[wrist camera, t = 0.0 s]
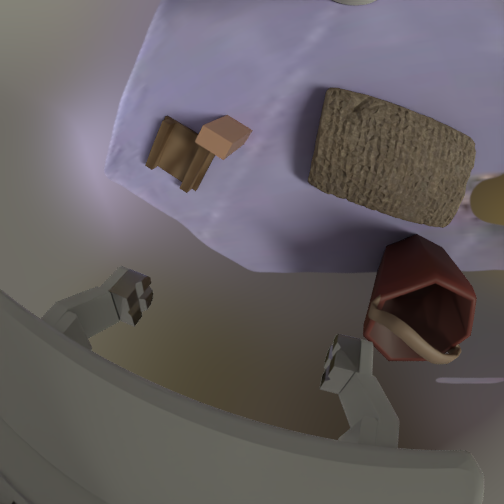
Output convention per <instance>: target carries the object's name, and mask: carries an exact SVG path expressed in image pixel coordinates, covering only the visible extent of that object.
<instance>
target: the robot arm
mask: <svg viewBox="0 0 504 504" xmlns="http://www.w3.org/2000/svg"><path fill="white" fill-rule="evenodd" d="M333 1H335V2H338V3H342V4H347V5H364V4H369V3H372V2H374V1H376V0H333ZM150 284H151V279H150V277H149V276H146V275H144V274H141V273H139V272H136V271H134V270H131V269H128V268H126V267H123V266H121V267H119V268H118V269H117V270H116V271H115V272H114V273H113V274H112V275H111V276H110V277H109V278H108V279H107V280H106V281H105V282H104V283H103V284H102V285H101V286H100V287H95V288H92V289H89V290H87V291H84V292H81V293H79V294H76V295H73V296H71V297H68V298H65V299H63V300H60V301H58V302H56V303H55V304H54V305H53V306H52V307H51V308H50V309H49V310H48V311H47V312H46V314H45V315H44V316H43V317H42V318H41V319H40V318H39V317H37V316H36V315H34V314H33V313H31V312H30V311H29V310H27V309H26V308H25V307H23V306H22V305H20V304H19V303H17V302H16V301H15V300H14V299H13V298H11V297H10V296H9V295H8V294H6V293H5V292H4V291H2V290H0V504H482V503H483V495H484V475H483V473H482V471H481V469H480V467H479V466H478V464H477V462H476V460H475V459H474V457H473V456H472V454H471V453H470V452H468V451H463V450H455V451H454V450H453V451H451V450H450V451H445V450H443V451H442V450H440V451H439V450H413V449H400V448H397V447H398V434H399V419H398V417H397V415H396V413H395V411H394V410H393V408H392V406H391V404H390V402H389V400H388V399H387V397H386V395H385V393H384V392H383V390H382V388H381V386H380V384H379V383H378V381H377V379H376V377H375V376H372V362H373V343H372V342H370V341H366V340H362V339H358V338H354V337H350V336H345V335H341V334H337V335H336V336H335V338H334V342H333V345H331V346H330V348H329V350H328V352H327V355H326V359H325V363H324V368H325V372H324V373H323V375H322V379H321V384H320V389H321V390H325V391H329V392H333V393H337V394H339V398H340V401H341V403H342V406H343V409H344V411H345V414H346V417H347V419H348V422H349V425H350V429H349V430H348V431H347V432H346V433H345V434H343V435H342V436H341V437H340V438H339V440H332V439H327V438H322V437H317V436H312V435H308V434H303V433H299V432H294V431H291V430H286V429H283V428H279V427H275V426H272V425H268V424H264V423H261V422H257V421H254V420H251V419H247V418H244V417H241V416H238V415H235V414H232V413H229V412H226V411H223V410H220V409H217V408H215V407H212V406H209V405H206V404H204V403H201V402H198V401H196V400H193V399H191V398H188V397H185V396H183V395H181V394H178V393H176V392H173V391H171V390H169V389H167V388H164V387H162V386H160V385H157V384H155V383H153V382H151V381H149V380H147V379H145V378H142V377H140V376H138V375H136V374H134V373H132V372H130V371H128V370H126V369H124V368H122V367H120V366H118V365H116V364H114V363H113V362H111V361H109V360H107V359H105V358H103V357H101V356H99V355H98V354H96V353H94V352H93V351H91V349H92V346H91V344H90V342H89V340H88V338H90V337H92V336H93V335H95V334H97V333H99V332H101V331H103V330H105V329H106V328H108V327H110V326H112V325H114V324H116V323H117V322H119V320H120V321H122V322H125V323H127V324H129V325H132V326H135V325H136V324H137V323H138V321H139V320H140V319H141V317H142V312H143V311H145V310H147V309H148V308H149V306H150V305H151V302H152V299H153V290H152V289H151V287H150V286H149V285H150Z"/></svg>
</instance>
